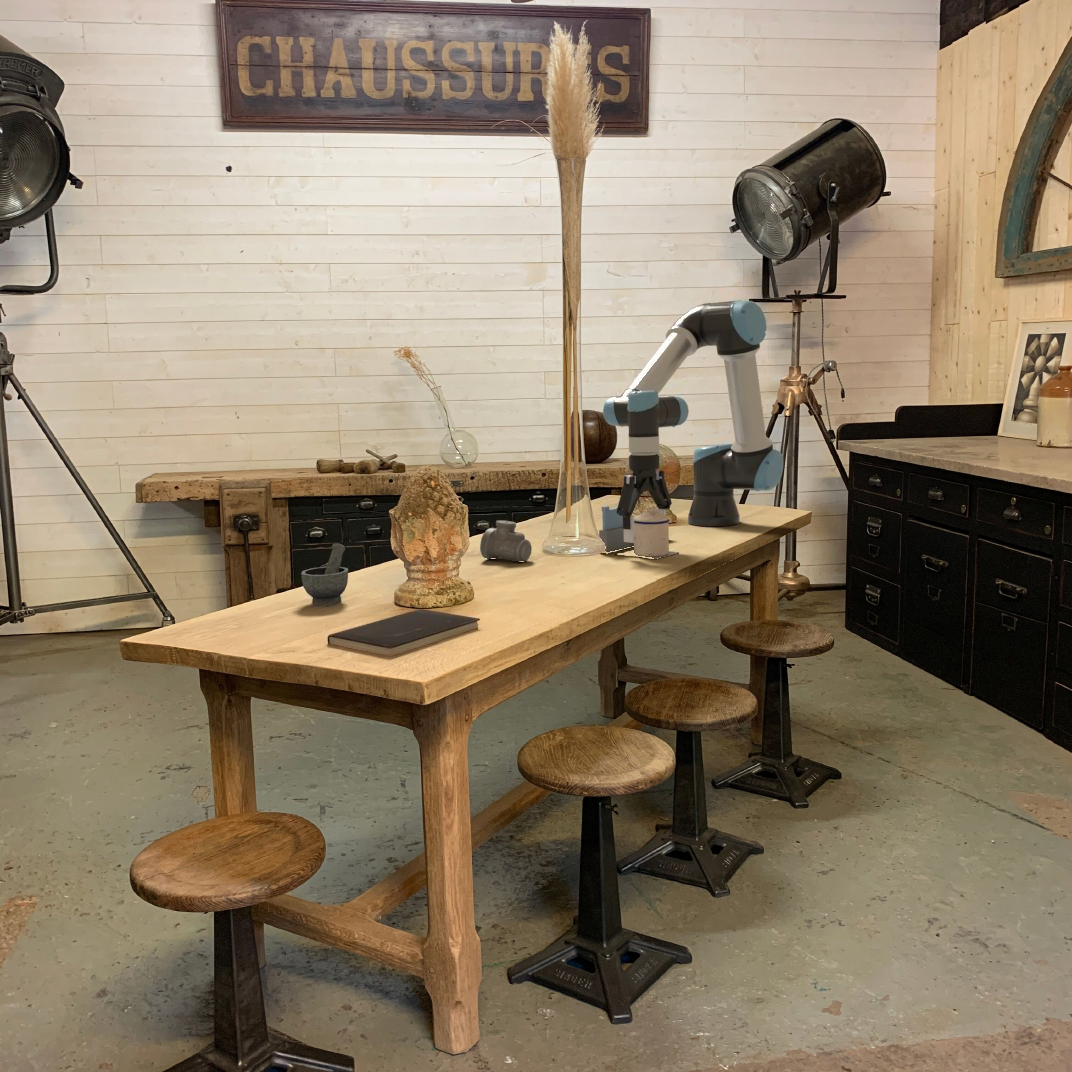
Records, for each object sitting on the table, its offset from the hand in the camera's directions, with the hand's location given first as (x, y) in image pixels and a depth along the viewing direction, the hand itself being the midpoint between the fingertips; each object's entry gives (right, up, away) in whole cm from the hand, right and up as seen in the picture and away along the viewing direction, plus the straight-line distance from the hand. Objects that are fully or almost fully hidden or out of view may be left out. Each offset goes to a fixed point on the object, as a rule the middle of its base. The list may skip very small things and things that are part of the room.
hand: (645, 538), depth 259 cm
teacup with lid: (0, -4, 0) cm, 4 cm away
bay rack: (+4, -3, +8) cm, 10 cm away
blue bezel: (-7, +3, +6) cm, 10 cm away
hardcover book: (-51, -18, -71) cm, 90 cm away
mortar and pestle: (-71, -14, -42) cm, 84 cm away
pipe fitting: (-34, -6, -2) cm, 35 cm away
